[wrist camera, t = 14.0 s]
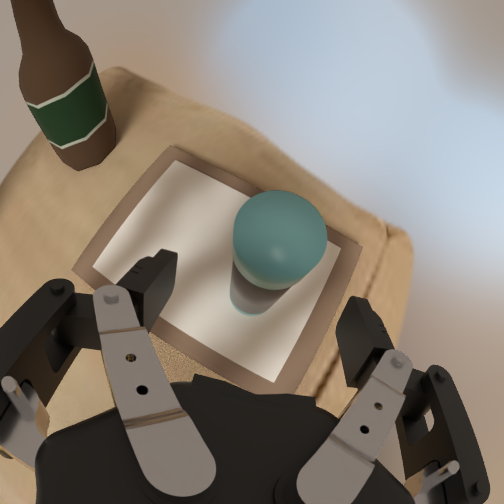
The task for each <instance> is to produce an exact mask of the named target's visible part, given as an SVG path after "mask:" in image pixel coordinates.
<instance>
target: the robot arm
mask: <svg viewBox="0 0 504 504" xmlns="http://www.w3.org/2000/svg"><path fill="white" fill-rule="evenodd" d="M177 261H178V253H177V252H174V251H170V250H166V249H160V250H159V251H158V252H157V254H156V255H155V256H154V257H150V256H147V257H144V258H142V259H140V260H138V261H137V262H136V263H135V265H134V266H133V267H132V268H131V269H130V270H129V271H128V272H127V273H126V274H125V275H124V276H123V277H122V278H121V279H120V280H119V281H118V282H117V283H116V284H115V285H105V286H102V287H100V288H98V289H97V290H96V291H95V292H94V294H93V295H92V294H82V293H75V288H74V285H73V283H72V282H71V281H69V280H67V279H60V278H59V279H53V280H50V281H48V282H46V283H45V284H44V285H43V286H42V287H41V288H40V289H38V290H37V291H36V292H35V293H34V294H33V295H32V296H31V297H30V298H29V299H28V300H27V301H26V302H25V303H24V304H23V305H22V306H21V307H20V308H19V309H18V310H17V311H16V312H15V313H14V314H13V315H12V316H11V317H10V318H9V319H8V321H7V322H6V323H5V324H4V325H3V326H2V327H1V328H0V454H1V455H2V456H3V457H5V458H9V459H15V460H17V461H18V462H20V463H21V464H23V465H24V466H26V467H27V468H29V469H30V470H32V471H33V472H35V476H36V487H37V492H36V504H483V503H484V502H485V501H486V500H487V499H488V497H489V494H490V484H489V480H488V476H487V472H486V468H485V465H484V461H483V458H482V455H481V452H480V449H479V445H478V443H477V439H476V437H475V434H474V431H473V428H472V426H471V423H470V420H469V418H468V415H467V412H466V410H465V407H464V405H463V403H462V400H461V398H460V396H459V394H458V391H457V389H456V386H455V384H454V382H453V380H452V377H451V376H450V374H449V373H448V372H447V371H446V370H445V369H444V368H443V367H441V366H438V365H431V366H430V367H429V368H428V370H427V371H426V372H422V371H419V370H416V369H413V365H412V362H411V360H410V359H409V357H408V356H406V355H405V354H404V353H402V352H401V351H398V350H395V348H394V346H393V344H392V342H391V339H390V337H389V335H388V333H387V330H386V328H385V327H384V324H383V322H382V320H381V318H380V317H379V316H378V315H377V314H376V312H375V311H373V310H372V308H371V306H370V304H369V302H368V300H367V299H365V298H360V297H356V296H351V297H350V298H349V300H348V302H347V304H346V306H345V308H344V310H343V313H342V315H341V317H340V319H339V321H338V323H337V326H336V338H337V342H338V347H339V351H340V355H341V360H342V364H343V369H344V374H345V379H346V384H347V387H353V388H358V391H357V392H356V394H355V395H354V396H353V398H352V399H351V400H350V402H349V403H348V405H347V406H346V407H345V409H344V410H343V411H342V413H341V414H340V415H339V417H338V418H337V417H335V416H334V415H332V414H331V413H329V412H328V411H326V410H324V409H322V408H319V407H317V406H316V402H315V397H309V396H302V395H295V394H288V393H284V394H254V393H251V392H249V391H246V390H244V389H242V388H239V387H237V386H235V385H232V384H230V383H228V382H226V381H222V380H218V379H214V378H210V377H206V376H202V375H198V374H194V377H193V380H192V382H173V383H169V381H168V379H167V377H166V375H165V373H164V370H163V368H162V366H161V364H160V361H159V359H158V357H157V354H156V352H155V349H154V347H153V345H152V342H151V340H150V337H149V335H148V334H149V332H150V330H151V329H152V327H153V325H154V324H155V322H156V320H157V318H158V317H159V315H160V313H161V312H162V310H163V308H164V307H165V305H166V303H167V302H168V300H169V298H170V297H171V295H172V292H173V289H174V285H175V278H176V269H177ZM82 348H87V349H95V350H101V355H102V359H103V364H104V368H105V372H106V376H107V380H108V384H109V388H110V391H111V395H112V399H113V402H114V406H115V407H114V408H112V409H110V410H107V411H105V412H103V413H100V414H98V415H96V416H93V417H91V418H89V419H86V420H84V421H81V422H79V423H77V424H74V425H72V426H69V427H66V428H64V429H61V430H59V431H56V432H54V433H53V434H51V435H50V436H48V437H47V430H48V426H49V422H50V420H49V414H48V412H47V410H46V406H47V404H48V403H49V401H50V399H51V397H52V396H53V394H54V392H55V390H56V389H57V387H58V385H59V384H60V382H61V380H62V379H63V377H64V375H65V374H66V372H67V371H68V369H69V367H70V366H71V364H72V363H73V361H74V359H75V358H76V356H77V355H78V353H79V352H80V350H81V349H82ZM430 409H431V411H432V414H433V417H434V425H433V428H432V429H431V431H430V432H429V431H428V428H427V424H426V420H425V417H424V415H425V414H426V413H427V412H428V411H429V410H430ZM394 422H395V424H396V428H397V434H398V439H399V444H400V449H401V455H402V460H403V466H404V473H405V480H406V482H405V484H404V486H403V485H402V484H401V483H400V482H399V481H398V480H397V479H396V478H395V477H394V476H393V475H392V474H391V473H390V472H389V471H388V470H387V469H386V468H385V467H384V466H383V465H382V464H381V463H380V462H379V461H378V460H377V459H376V457H377V455H378V454H379V452H380V450H381V448H382V446H383V444H384V442H385V441H386V439H387V437H388V435H389V433H390V431H391V429H392V427H393V425H394Z"/></svg>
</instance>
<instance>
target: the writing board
mask: <svg viewBox="0 0 504 504" xmlns="http://www.w3.org/2000/svg"><path fill="white" fill-rule="evenodd" d="M262 192H265V191H263V190H261V189H259V188H257V187H255V186H253V185H251V184H249V183H247V182H245V181H243V180H241V179H239V178H237V177H235V176H233V175H231V174H229V173H227V172H225V171H223V170H221V169H219V168H217V167H215V166H213V165H211V164H209V163H207V162H205V161H203V160H201V159H198V158H196V157H194V156H192V155H190V154H188V153H186V152H183V151H181V150H179V149H177V148H175V147H172V146H169V147H168V148H167V149H166V150H165V151H164V152H163V153H162V154H161V155H160V156H159V157H158V159H157V160H156V161H155V162H154V163H153V164H152V165H151V166H150V167H149V168H148V170H147V171H146V172H145V173H144V174H143V175H142V176H141V177H140V179H139V180H138V181H137V182H136V183H135V184H134V186H133V187H132V188H131V189H130V190H129V192H128V193H127V194H126V195H125V197H124V198H123V199H122V200H121V201H120V203H119V204H118V205H117V206H116V208H115V209H114V210H113V212H112V213H111V214H110V215H109V217H108V218H107V219H106V221H105V222H104V223H103V225H102V226H101V227H100V229H99V230H98V231H97V233H96V234H95V236H94V237H93V238H92V240H91V241H90V243H89V244H88V246H87V247H86V248H85V250H84V251H83V253H82V254H81V256H80V257H79V259H78V260H77V262H76V263H75V265H74V266H73V268H72V269H71V270H72V271H73V272H75V273H76V274H77V275H78V276H79V277H80V278H81V279H83V280H84V281H85V282H86V283H87V284H89V285H90V286H91V287H92V288H93V289H95V290H97V289H98V288H100V287H102V286H105V285H115V284H116V283H117V282H118V281H119V280H120V279H121V278H122V277H123V276H124V275H125V274H126V273H127V272H128V271H129V270H130V269H131V268H132V267H133V266H134V265H135V263H136V262H137V261H138V260H140V259H142V258H144V257H147V256H150V257H154V256H155V255H156V254H157V252H158V251H159V250H160V249H166V250H170V251H174V252H177V253H178V261H177V269H176V278H175V285H174V289H173V292H172V295H171V297H170V298H169V300H168V302H167V303H166V305H165V307H164V308H163V310H162V312H161V313H160V315H159V317H158V318H157V320H156V322H155V324H154V325H153V327H152V329H151V330H150V332H152V333H153V334H154V335H156V336H157V337H159V338H160V339H162V340H163V341H165V342H166V343H168V344H169V345H171V346H172V347H174V348H176V349H177V350H179V351H180V352H182V353H183V354H185V355H187V356H188V357H190V358H191V359H193V360H195V361H196V362H198V363H200V364H201V365H203V366H205V367H206V368H208V369H210V370H212V371H213V372H215V373H217V374H219V375H220V376H222V377H224V378H226V379H228V380H229V381H231V382H233V383H235V384H237V385H239V386H240V387H242V388H244V389H246V390H248V391H250V392H252V393H254V394H284V393H288V394H294V393H295V392H296V390H297V388H298V386H299V384H300V383H301V381H302V379H303V377H304V375H305V373H306V372H307V370H308V368H309V366H310V364H311V362H312V360H313V358H314V356H315V354H316V352H317V350H318V348H319V346H320V344H321V342H322V340H323V338H324V336H325V334H326V332H327V330H328V328H329V326H330V324H331V322H332V320H333V317H334V315H335V313H336V311H337V309H338V306H339V304H340V302H341V300H342V297H343V295H344V293H345V290H346V288H347V286H348V283H349V281H350V279H351V276H352V274H353V271H354V269H355V266H356V264H357V261H358V259H359V256H360V254H361V251H362V248H363V247H362V246H360V245H358V244H357V243H355V242H353V241H352V240H350V239H348V238H347V237H345V236H343V235H342V234H340V233H338V232H337V231H335V230H333V229H331V228H330V227H328V226H326V225H325V226H326V230H327V246H326V250H325V253H324V255H323V257H322V259H321V260H320V262H319V263H318V264H317V265H316V266H315V267H314V268H313V269H312V270H311V271H310V272H309V273H308V274H307V275H306V276H305V277H304V278H303V279H302V280H301V281H300V282H298V283H297V284H295V285H293V286H292V287H291V288H290V289H289V290H288V291H287V292H286V293H285V294H284V295H283V296H282V297H281V298H280V299H279V300H278V301H277V302H276V303H275V304H274V305H272V306H271V307H270V308H269V309H268V310H267V311H266V312H265V313H263V314H261V315H257V316H248V315H244V314H242V313H240V312H239V311H238V310H236V308H235V307H234V306H233V304H232V302H231V300H230V283H231V273H232V262H233V255H232V240H233V228H234V221H235V218H236V215H237V213H238V211H239V209H240V208H241V207H242V205H243V204H244V203H245V202H246V201H247V200H249V199H250V198H251V197H253V196H255V195H257V194H259V193H262Z"/></svg>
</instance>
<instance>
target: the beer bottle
mask: <svg viewBox="0 0 504 504" xmlns="http://www.w3.org/2000/svg"><path fill="white" fill-rule="evenodd" d="M11 4H12V8H13V13H14V17H15V22H16V26H17V29H18V33H19V37H20V40H21V47H22V53H23V55H22V60H21V64H20V69H19V87H20V90H21V92H22V95H23V97H24V100H25V102H26V104H27V105H28V107H29V109H30V111H31V113H32V114H33V116H34V118H35V119H36V121H37V123H38V125H39V126H40V128H41V130H42V131H43V133H44V134H45V136H46V138H47V139H48V141H49V142H50V144H51V146H52V147H53V149H54V150H55V152H56V153H57V155H58V156H59V157H60V159H61V160H62V161H63V162H64V163H65V164H67V165H68V166H70V167H72V168H73V169H75V170H77V171H80V170H83V169H86V168H89V167H92V166H95V165H98V164H100V163H101V162H102V161H103V159H104V158H105V157H106V156H107V155H108V154H109V153H110V152H111V151H112V150H113V149H114V148H115V137H116V128H115V124H114V121H113V118H112V115H111V112H110V109H109V106H108V104H107V101H106V98H105V95H104V92H103V89H102V86H101V83H100V80H99V77H98V73H97V70H96V67H95V64H94V60H93V58H92V55H91V53H90V50H89V48H88V46H87V45H86V43H85V42H84V41H83V40H82V39H81V38H80V37H79V36H78V35H75V34H74V33H72V32H70V31H68V30H66V29H65V28H64V26H63V24H62V22H61V20H60V19H59V17H58V14H57V11H56V9H55V5H54V3H53V0H11Z"/></svg>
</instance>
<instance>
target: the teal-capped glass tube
mask: <svg viewBox="0 0 504 504" xmlns="http://www.w3.org/2000/svg"><path fill="white" fill-rule="evenodd" d="M326 246H327V230H326V226H325V223H324V220H323V218H322V216H321V215H320V213H319V212H318V210H317V209H316V208H315V207H314V206H313V205H312V204H311V203H310V202H308V201H307V200H306V199H304V198H303V197H301V196H299V195H297V194H294V193H291V192H287V191H280V190H272V191H266V192H262V193H259V194H257V195H255V196H253V197H251V198H250V199H249V200H247V201H246V202H245V203H244V204H243V205H242V207H241V208H240V209H239V211H238V213H237V215H236V218H235V221H234V228H233V240H232V255H233V262H232V273H231V283H230V300H231V302H232V304H233V306H234V307H235V308H236V310H238V311H239V312H240V313H242V314H244V315H248V316H257V315H261V314H263V313H265V312H266V311H267V310H268V309H269V308H270V307H271V306H272V305H274V304H275V303H276V302H277V301H278V300H279V299H280V298H281V297H282V296H283V295H284V294H285V293H286V292H287V291H288V290H289V289H290V288H291V287H292V286H293V285H295V284H297V283H298V282H300V281H301V280H302V279H303V278H304V277H305V276H306V275H307V274H308V273H309V272H310V271H311V270H312V269H313V268H314V267H315V266H316V265H317V264H318V263H319V262H320V260H321V259H322V257H323V255H324V253H325V250H326Z"/></svg>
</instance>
